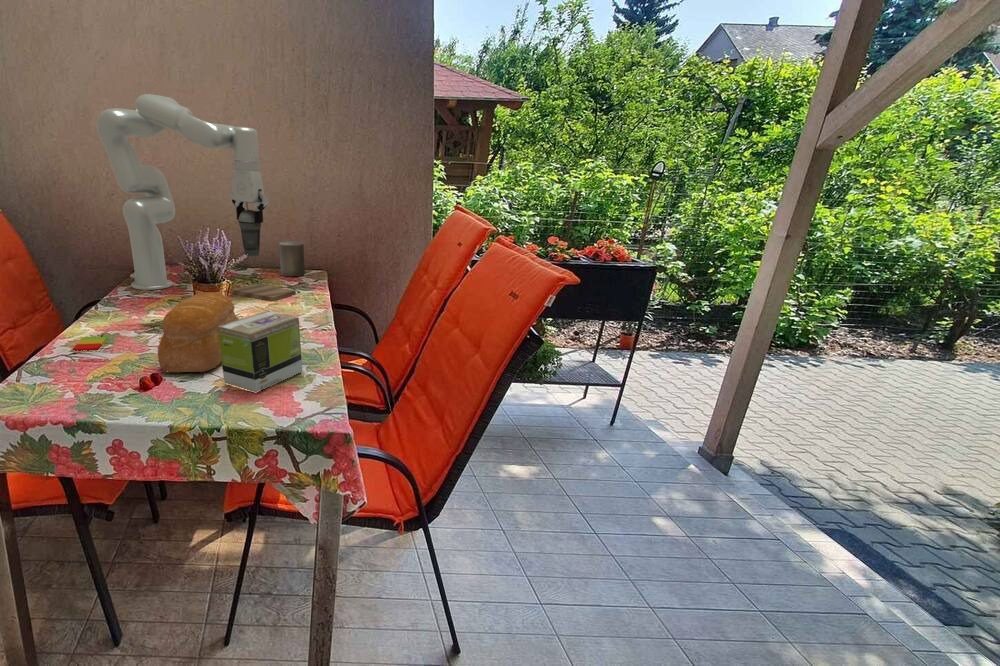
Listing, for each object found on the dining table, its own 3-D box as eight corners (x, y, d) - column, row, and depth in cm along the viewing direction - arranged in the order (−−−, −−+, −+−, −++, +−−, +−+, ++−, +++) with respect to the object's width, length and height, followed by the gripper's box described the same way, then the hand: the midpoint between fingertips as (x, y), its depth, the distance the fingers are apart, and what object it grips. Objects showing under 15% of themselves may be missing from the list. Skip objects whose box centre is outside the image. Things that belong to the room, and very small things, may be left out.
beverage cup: (252, 258, 180) (248, 197, 174) (235, 255, 182) (231, 195, 176) (268, 255, 186) (264, 197, 180) (251, 252, 189) (248, 194, 182)
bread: (246, 339, 151) (242, 287, 146) (214, 375, 126) (208, 315, 122) (195, 338, 149) (190, 285, 144) (152, 375, 124) (144, 313, 119)
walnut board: (232, 293, 192) (232, 289, 192) (257, 287, 203) (256, 283, 203) (272, 301, 187) (272, 297, 187) (295, 294, 198) (295, 290, 198)
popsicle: (71, 356, 131) (70, 349, 131) (90, 336, 144) (89, 330, 144) (98, 354, 133) (97, 347, 133) (114, 335, 146) (113, 329, 146)
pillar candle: (309, 276, 227) (307, 241, 223) (287, 278, 220) (285, 242, 216) (298, 271, 234) (296, 237, 229) (276, 273, 227) (274, 238, 222)
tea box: (272, 364, 135) (268, 309, 130) (303, 373, 132) (301, 316, 127) (222, 385, 122) (216, 324, 117) (255, 395, 118) (251, 332, 114)
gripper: (217, 164, 174) (221, 218, 180) (258, 169, 169) (261, 225, 174) (235, 164, 181) (239, 217, 187) (276, 169, 176) (278, 223, 181)
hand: (250, 220), depth 181 cm, fingers closed on beverage cup, 7 cm apart
